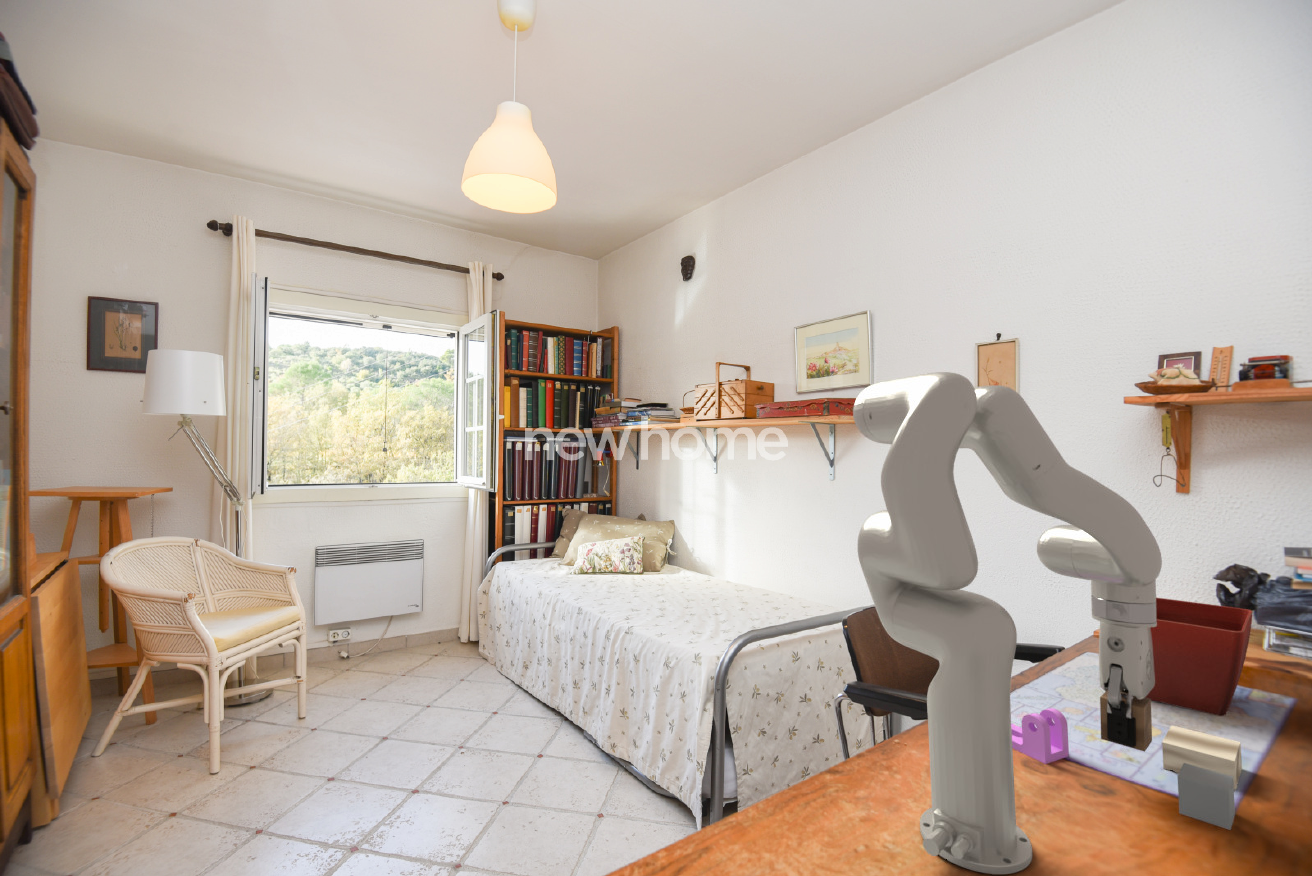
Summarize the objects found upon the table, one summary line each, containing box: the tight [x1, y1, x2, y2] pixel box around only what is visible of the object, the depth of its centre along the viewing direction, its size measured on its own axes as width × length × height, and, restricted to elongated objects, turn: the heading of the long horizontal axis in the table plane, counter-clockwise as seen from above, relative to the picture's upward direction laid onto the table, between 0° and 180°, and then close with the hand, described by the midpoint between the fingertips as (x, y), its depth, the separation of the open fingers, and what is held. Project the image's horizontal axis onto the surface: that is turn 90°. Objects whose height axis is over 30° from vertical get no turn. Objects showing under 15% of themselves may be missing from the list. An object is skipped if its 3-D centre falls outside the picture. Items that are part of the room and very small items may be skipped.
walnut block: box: [1099, 691, 1153, 752], centre depth 87 cm, size 5×5×6 cm
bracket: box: [1011, 707, 1070, 765], centre depth 101 cm, size 13×6×7 cm, turn 22°
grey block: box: [1177, 763, 1236, 831], centre depth 80 cm, size 5×5×5 cm
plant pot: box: [1146, 597, 1254, 716], centre depth 116 cm, size 19×19×17 cm
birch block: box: [1161, 724, 1243, 790], centre depth 91 cm, size 8×8×4 cm
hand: (1126, 736), depth 87 cm, fingers closed on walnut block, 4 cm apart
